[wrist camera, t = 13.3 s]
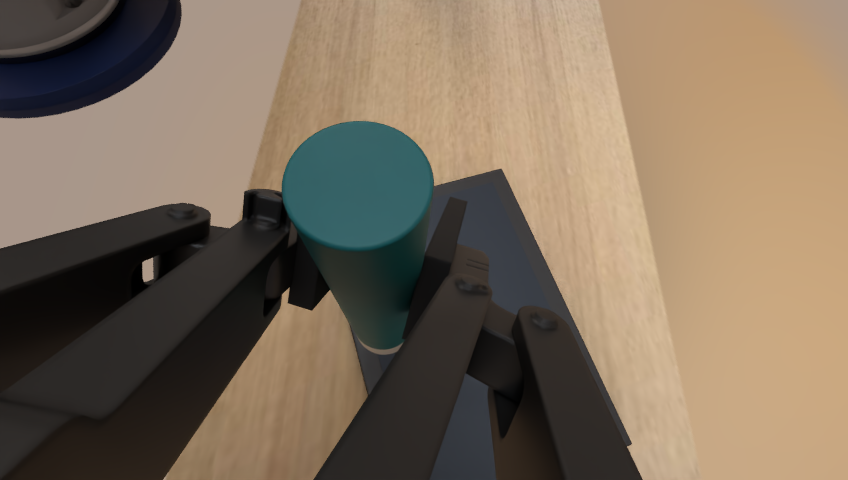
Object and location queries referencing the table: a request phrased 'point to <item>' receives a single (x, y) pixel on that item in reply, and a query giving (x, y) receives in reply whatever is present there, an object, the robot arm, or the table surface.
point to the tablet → (512, 289)
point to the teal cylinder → (363, 221)
